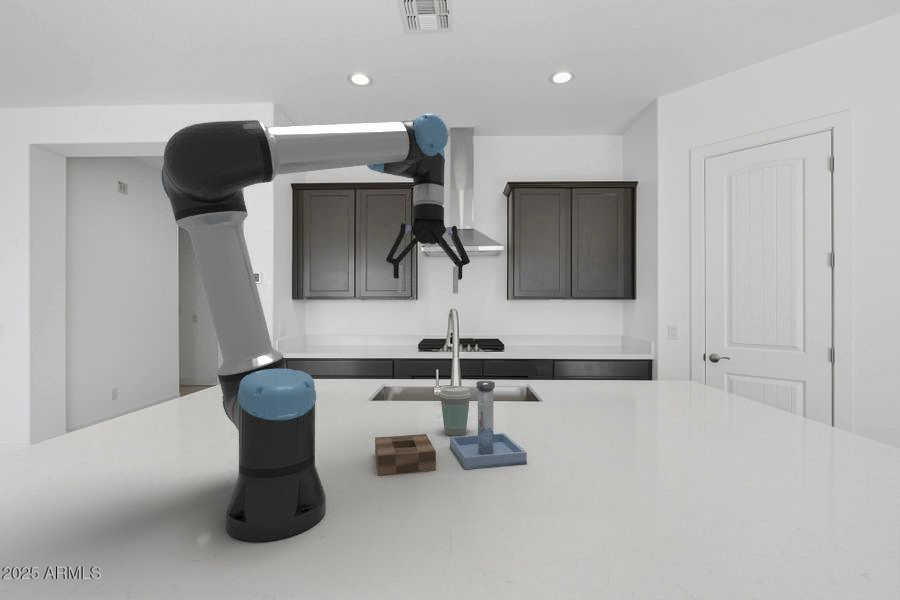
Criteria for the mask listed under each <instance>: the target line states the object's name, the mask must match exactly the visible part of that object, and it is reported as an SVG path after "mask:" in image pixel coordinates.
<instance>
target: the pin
mask: <svg viewBox="0 0 900 600" xmlns="http://www.w3.org/2000/svg"><path fill="white" fill-rule="evenodd" d="M495 383H496V382H495V381H492V380H478V381H476V384H475V385H476V389H477V435H478V454H480V455H488V454H493V453H494V440H493V434H494V390H495V388H496V387H495V386H496V385H495Z"/></svg>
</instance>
